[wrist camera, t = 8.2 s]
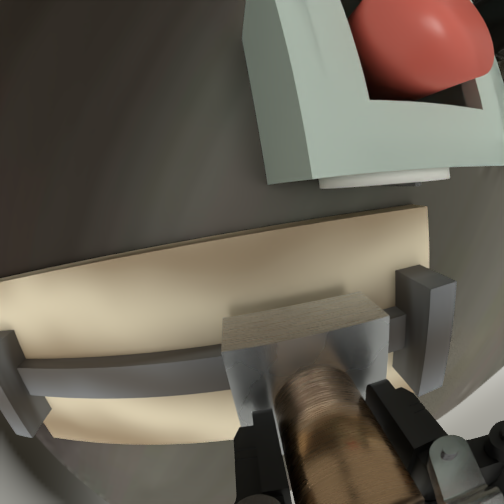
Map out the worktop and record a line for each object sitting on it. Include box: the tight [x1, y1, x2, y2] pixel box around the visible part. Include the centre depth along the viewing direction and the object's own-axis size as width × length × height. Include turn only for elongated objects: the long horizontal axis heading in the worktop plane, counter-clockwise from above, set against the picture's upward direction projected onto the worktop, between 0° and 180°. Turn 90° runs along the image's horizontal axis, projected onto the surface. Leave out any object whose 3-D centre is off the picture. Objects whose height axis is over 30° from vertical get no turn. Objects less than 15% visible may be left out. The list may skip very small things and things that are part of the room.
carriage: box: [221, 291, 425, 504], centre depth 9 cm, size 6×6×10 cm
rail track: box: [0, 204, 457, 445], centre depth 13 cm, size 12×26×5 cm, turn 99°
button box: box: [242, 0, 504, 189], centre depth 10 cm, size 8×8×8 cm
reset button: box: [347, 0, 494, 102], centre depth 6 cm, size 4×4×4 cm
